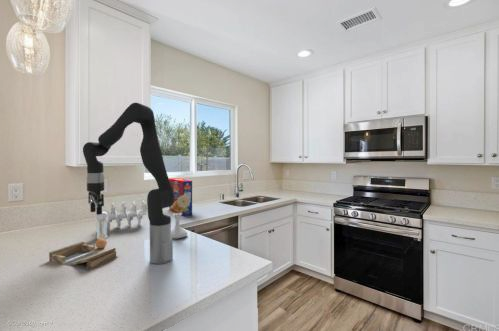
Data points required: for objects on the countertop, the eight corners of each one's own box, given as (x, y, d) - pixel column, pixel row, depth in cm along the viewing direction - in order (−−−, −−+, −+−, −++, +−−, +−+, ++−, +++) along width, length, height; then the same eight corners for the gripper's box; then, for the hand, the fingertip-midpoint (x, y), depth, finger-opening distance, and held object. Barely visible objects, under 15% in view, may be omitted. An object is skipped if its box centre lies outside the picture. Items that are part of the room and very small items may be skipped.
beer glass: (112, 236, 146) (112, 211, 145) (102, 240, 139) (102, 213, 138) (102, 235, 148) (102, 210, 147) (92, 238, 141) (92, 213, 140)
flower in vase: (166, 241, 139) (166, 197, 138) (167, 234, 150) (167, 194, 149) (190, 239, 142) (190, 196, 141) (189, 233, 153) (190, 193, 152)
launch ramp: (116, 260, 115) (116, 248, 115) (91, 271, 104) (91, 258, 103) (95, 255, 120) (95, 244, 119) (69, 265, 108) (69, 253, 108)
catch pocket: (94, 251, 122) (94, 243, 122) (62, 264, 108) (62, 255, 108) (82, 249, 125) (82, 241, 125) (49, 261, 111) (49, 252, 111)
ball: (109, 247, 129) (108, 237, 128) (100, 250, 124) (100, 240, 124) (102, 245, 130) (101, 236, 130) (93, 249, 126) (93, 239, 126)
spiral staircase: (105, 234, 162) (146, 227, 174) (103, 229, 147) (148, 222, 159) (103, 207, 167) (143, 202, 179) (102, 200, 153) (145, 195, 165)
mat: (119, 257, 116) (119, 255, 116) (88, 271, 102) (88, 269, 102) (82, 249, 125) (82, 248, 125) (49, 261, 111) (49, 259, 111)
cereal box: (169, 209, 217) (169, 178, 216) (177, 208, 222) (177, 178, 221) (182, 216, 196) (182, 181, 195) (192, 214, 201) (192, 180, 200)
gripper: (109, 182, 124) (109, 214, 124) (98, 180, 133) (99, 209, 133) (92, 183, 118) (92, 216, 118) (82, 181, 127) (82, 212, 128)
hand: (96, 213), depth 126 cm, fingers open, 8 cm apart
